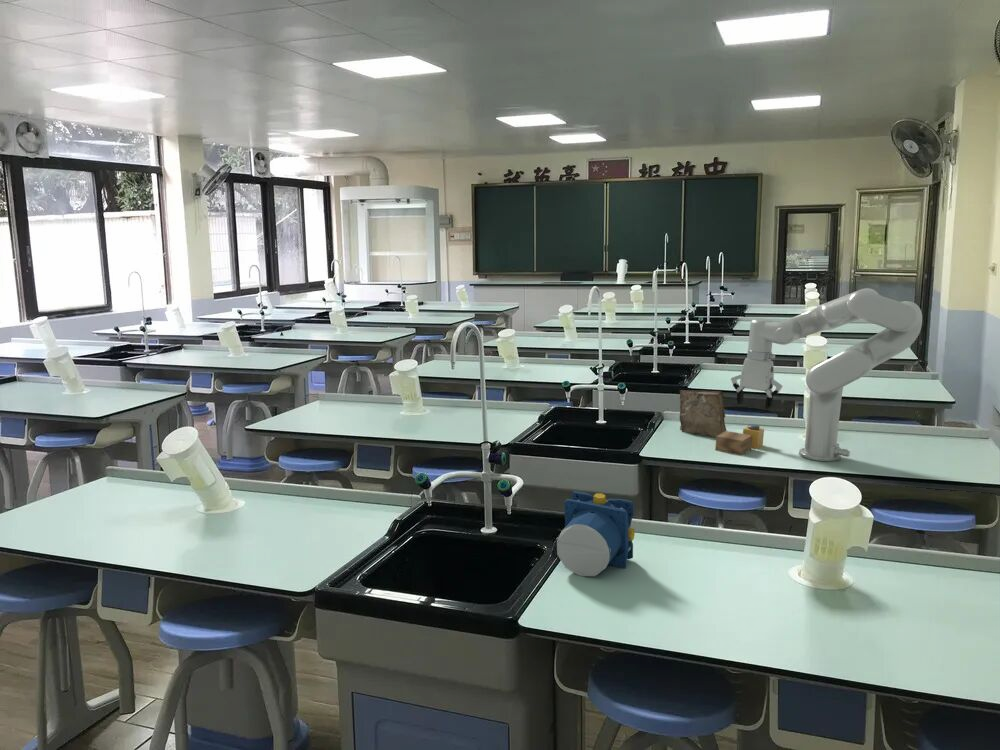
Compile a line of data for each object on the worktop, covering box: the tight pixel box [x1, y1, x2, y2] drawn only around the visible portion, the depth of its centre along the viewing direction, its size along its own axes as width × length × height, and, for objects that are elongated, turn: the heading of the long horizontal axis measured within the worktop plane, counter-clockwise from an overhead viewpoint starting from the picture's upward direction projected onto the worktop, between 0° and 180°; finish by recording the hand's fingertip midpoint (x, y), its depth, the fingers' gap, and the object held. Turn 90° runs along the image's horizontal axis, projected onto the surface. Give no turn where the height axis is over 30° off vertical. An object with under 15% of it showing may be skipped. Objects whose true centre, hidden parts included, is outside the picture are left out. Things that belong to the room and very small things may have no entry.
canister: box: [742, 424, 765, 449], centre depth 270 cm, size 5×5×7 cm
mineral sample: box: [679, 389, 727, 438], centre depth 283 cm, size 18×4×16 cm, turn 59°
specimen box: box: [714, 430, 752, 456], centre depth 265 cm, size 9×9×5 cm
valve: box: [556, 490, 636, 577], centre depth 171 cm, size 13×15×15 cm
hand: (753, 405), depth 268 cm, fingers open, 9 cm apart
